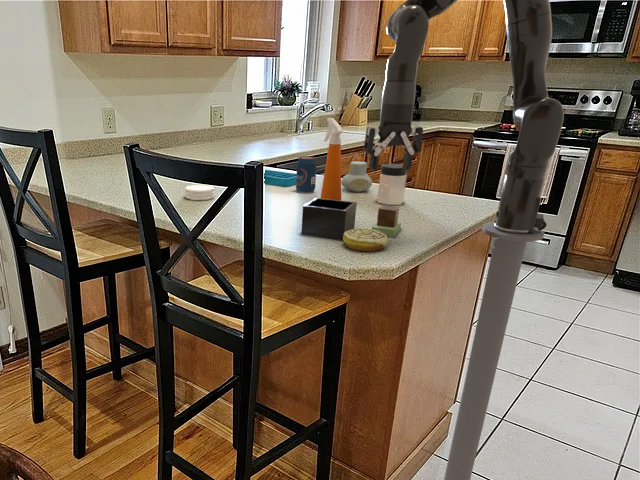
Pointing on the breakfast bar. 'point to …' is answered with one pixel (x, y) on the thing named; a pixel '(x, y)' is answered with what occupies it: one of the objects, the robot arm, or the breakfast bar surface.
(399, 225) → the sponge
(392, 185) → the jar
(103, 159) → the breakfast bar surface
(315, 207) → the black open box
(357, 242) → the decorated donut
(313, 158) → the soda can
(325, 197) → the spray bottle
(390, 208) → the block
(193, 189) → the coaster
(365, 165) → the air freshener
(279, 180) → the ice cube tray
